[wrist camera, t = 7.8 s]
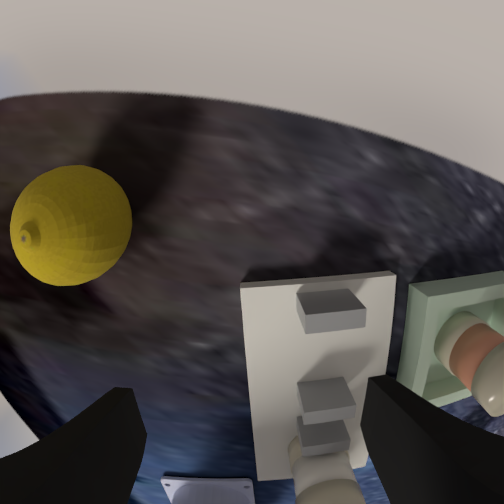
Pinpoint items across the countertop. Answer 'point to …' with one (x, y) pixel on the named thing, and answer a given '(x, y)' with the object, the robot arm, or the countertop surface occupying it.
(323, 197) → the countertop surface
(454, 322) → the marked fuse
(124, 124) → the countertop surface
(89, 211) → the lemon
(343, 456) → the cylinder
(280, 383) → the block
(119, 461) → the robot arm
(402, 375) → the parts tray
